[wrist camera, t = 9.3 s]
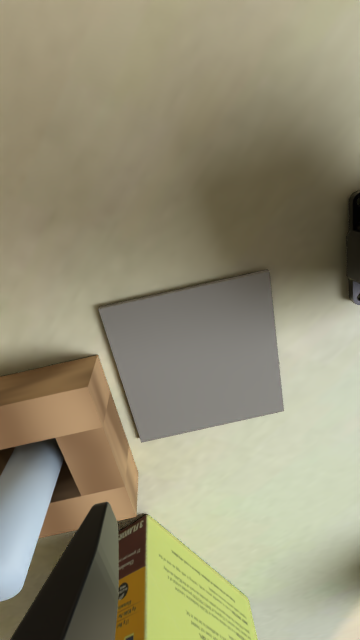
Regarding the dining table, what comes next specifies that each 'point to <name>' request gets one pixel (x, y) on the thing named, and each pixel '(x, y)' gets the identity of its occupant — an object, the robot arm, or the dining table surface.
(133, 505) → the hole block
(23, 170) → the dining table surface
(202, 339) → the mat
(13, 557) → the peg
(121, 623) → the protein box
